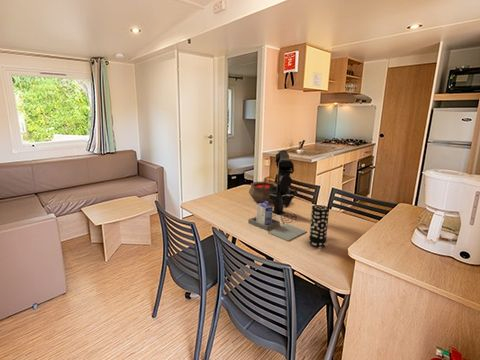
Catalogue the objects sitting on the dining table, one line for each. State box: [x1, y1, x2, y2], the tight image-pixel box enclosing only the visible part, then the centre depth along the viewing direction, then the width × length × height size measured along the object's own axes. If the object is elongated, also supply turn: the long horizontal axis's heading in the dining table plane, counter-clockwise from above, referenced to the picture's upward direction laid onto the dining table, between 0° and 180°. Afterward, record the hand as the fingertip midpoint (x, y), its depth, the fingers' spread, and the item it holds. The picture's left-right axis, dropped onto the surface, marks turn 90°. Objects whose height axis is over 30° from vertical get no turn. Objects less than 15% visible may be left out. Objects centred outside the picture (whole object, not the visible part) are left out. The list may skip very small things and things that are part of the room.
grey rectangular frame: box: [247, 216, 281, 231], centre depth 163 cm, size 12×15×2 cm
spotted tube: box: [308, 204, 330, 249], centre depth 137 cm, size 8×8×20 cm
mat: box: [267, 223, 308, 242], centre depth 152 cm, size 18×14×1 cm
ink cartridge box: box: [255, 201, 274, 226], centre depth 162 cm, size 10×6×14 cm, turn 28°
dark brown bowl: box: [248, 178, 277, 204], centre depth 206 cm, size 24×24×16 cm
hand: (282, 208), depth 152 cm, fingers open, 6 cm apart
